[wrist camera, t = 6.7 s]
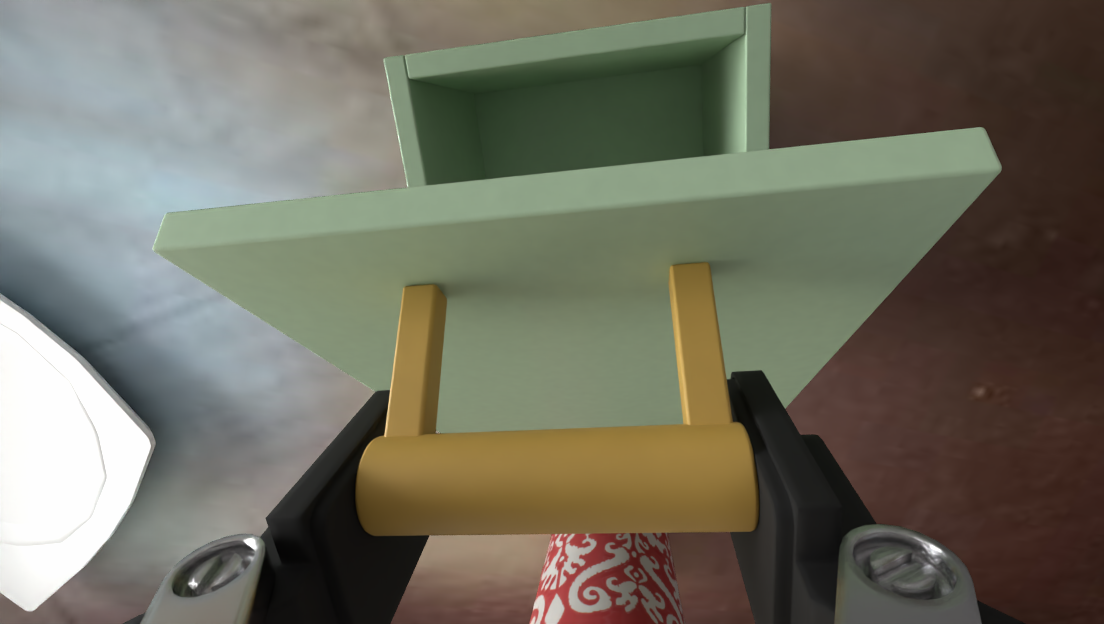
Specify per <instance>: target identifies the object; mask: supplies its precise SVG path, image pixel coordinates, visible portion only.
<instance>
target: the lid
mask: <svg viewBox="0 0 1104 624" xmlns="http://www.w3.org/2000/svg"><path fill="white" fill-rule="evenodd" d="M1001 169H1002V166H1001V164H1000V161H999V159H998V157H997V155H996V153H995V150H994V148H993V146H992V144H991V141H990V139H989V137H988V135H987V132H986V130H985V129H984V128H982V127H977V128H967V129H958V130H948V131H939V132H929V133H920V134H911V135H901V136H892V137H882V138H873V139H863V140H854V141H844V142H835V143H825V144H816V145H806V146H797V147H787V148H778V149H768V150H759V151H749V152H740V153H730V154H721V155H712V156H702V157H693V158H683V159H674V160H664V161H655V162H645V163H636V164H626V165H617V166H607V167H598V168H588V169H579V170H569V171H560V172H550V173H541V174H532V175H522V176H513V177H503V178H494V179H484V180H475V181H465V182H456V183H446V184H437V185H427V186H418V187H408V188H399V189H389V190H380V191H370V192H361V193H351V194H342V195H333V196H323V197H314V198H304V199H295V200H285V201H276V202H266V203H257V204H247V205H238V206H228V207H219V208H209V209H200V210H190V211H181V212H171V213H167V214H165V215H164V218H163V221H162V223H161V226H160V229H159V232H158V235H157V237H156V240H155V243H154V246H153V251H154V252H155V253H157V254H159V255H160V256H162V257H163V258H165V259H166V260H168V261H170V262H171V263H173V264H174V265H176V266H178V267H179V268H181V269H182V270H184V271H185V272H187V273H189V274H190V275H192V276H193V277H195V278H197V279H198V280H200V281H201V282H203V283H204V284H206V285H208V286H209V287H211V288H212V289H214V290H215V291H217V292H219V293H220V294H222V295H223V296H225V297H227V298H228V299H230V300H231V301H233V302H234V303H236V304H238V305H239V306H241V307H242V308H244V309H246V310H247V311H249V312H250V313H252V314H253V315H255V316H257V317H258V318H260V319H261V320H263V321H265V322H266V323H268V324H269V325H271V326H272V327H274V328H276V329H277V330H279V331H280V332H282V333H283V334H285V335H287V336H288V337H290V338H291V339H293V340H295V341H296V342H298V343H299V344H301V345H302V346H304V347H306V348H307V349H309V350H310V351H312V352H314V353H315V354H317V355H318V356H320V357H321V358H323V359H325V360H326V361H328V362H329V363H331V364H333V365H334V366H336V367H337V368H339V369H340V370H342V371H344V372H345V373H347V374H348V375H350V376H351V377H353V378H355V379H356V380H358V381H359V382H361V383H363V384H364V385H366V386H367V387H369V388H370V389H372V390H374V391H375V392H377V391H380V390H390V395H389V403H388V411H387V419H386V427H385V434H384V436H379V437H377V438H375V439H373V440H372V441H371V442H370V443H369V444H368V446H367V447H366V449H365V451H364V453H363V455H362V458H361V460H360V463H359V467H358V471H357V477H356V485H355V502H356V510H357V515H358V518H359V521H360V524H361V526H362V527H363V529H364V530H365V531H366V532H367V533H369V534H371V535H373V536H417V535H504V534H592V533H680V532H751V531H753V530H755V529H756V527H757V524H758V518H759V488H758V478H757V471H756V464H755V459H754V454H753V449H752V445H751V442H750V439H749V436H748V433H747V431H746V429H745V427H744V426H743V425H742V424H741V423H738V422H733V419H732V413H731V406H730V399H729V392H728V385H727V379H730V378H731V373H732V372H736V371H755V370H762V371H763V372H764V374H765V376H766V377H767V379H768V381H769V382H770V384H771V386H772V388H773V389H774V391H775V393H776V394H777V396H778V398H779V400H780V401H781V403H782V405H783V406H784V408H786V407H787V406H788V405H789V404H790V403H791V402H792V401H793V400H794V398H795V397H796V396H797V395H798V394H799V393H800V392H801V391H802V390H803V389H804V387H805V386H806V385H807V384H808V383H809V382H810V381H811V380H812V379H813V378H814V376H815V375H816V374H817V373H818V372H819V371H820V370H821V369H822V368H823V367H824V365H825V364H826V363H827V362H828V361H829V360H830V359H831V358H832V357H833V356H834V354H835V353H836V352H837V351H838V350H839V349H840V348H841V347H842V346H843V345H844V343H845V342H846V341H847V340H848V339H849V338H850V337H851V336H852V335H853V334H854V332H855V331H856V330H857V329H858V328H859V327H860V326H861V325H862V324H863V323H864V321H865V320H866V319H867V318H868V317H869V316H870V315H871V314H872V313H873V312H874V310H875V309H876V308H877V307H878V306H879V305H880V304H881V303H882V302H883V301H884V300H885V298H886V297H887V296H888V295H889V294H890V293H891V292H892V291H893V290H894V289H895V287H896V286H897V285H898V284H899V283H900V282H901V281H902V280H903V279H904V278H905V276H906V275H907V274H908V273H909V272H910V271H911V270H912V269H913V268H914V267H915V265H916V264H917V263H918V262H919V261H920V260H921V259H922V258H923V257H924V256H925V254H926V253H927V252H928V251H929V250H930V249H931V248H932V247H933V246H934V245H935V243H936V242H937V241H938V240H939V239H940V238H941V237H942V236H943V235H944V234H945V232H946V231H947V230H948V229H949V228H950V227H951V226H952V225H953V224H954V223H955V221H956V220H957V219H958V218H959V217H960V216H961V215H962V214H963V213H964V212H965V210H966V209H967V208H968V207H969V206H970V205H971V204H972V203H973V202H974V201H975V199H976V198H977V197H978V196H979V195H980V194H981V193H982V192H983V191H984V190H985V188H986V187H987V186H988V185H989V184H990V183H991V182H992V181H993V180H994V179H995V177H996V176H997V175H998V174H999V173H1000V172H1001ZM436 430H437V431H438V432H440V434H436Z"/></svg>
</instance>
